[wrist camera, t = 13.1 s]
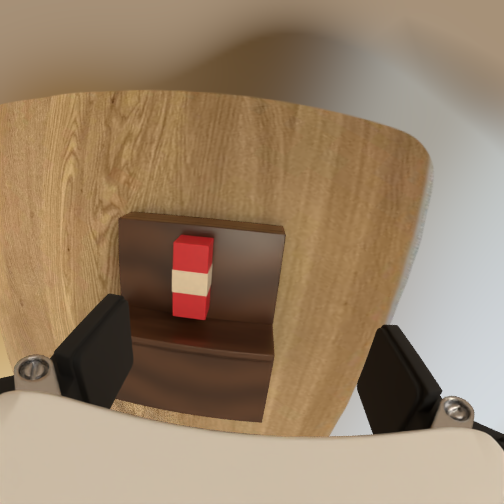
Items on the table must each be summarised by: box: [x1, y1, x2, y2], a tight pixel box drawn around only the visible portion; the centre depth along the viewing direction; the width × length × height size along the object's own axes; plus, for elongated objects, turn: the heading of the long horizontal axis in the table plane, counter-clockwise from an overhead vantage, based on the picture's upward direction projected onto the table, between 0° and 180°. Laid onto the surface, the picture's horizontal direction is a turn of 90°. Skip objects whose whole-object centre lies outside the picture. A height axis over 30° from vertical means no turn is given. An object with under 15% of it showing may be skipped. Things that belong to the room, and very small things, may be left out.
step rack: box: [115, 212, 286, 422], centre depth 33 cm, size 21×18×10 cm
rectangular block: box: [172, 235, 214, 320], centre depth 31 cm, size 8×4×3 cm, turn 174°
